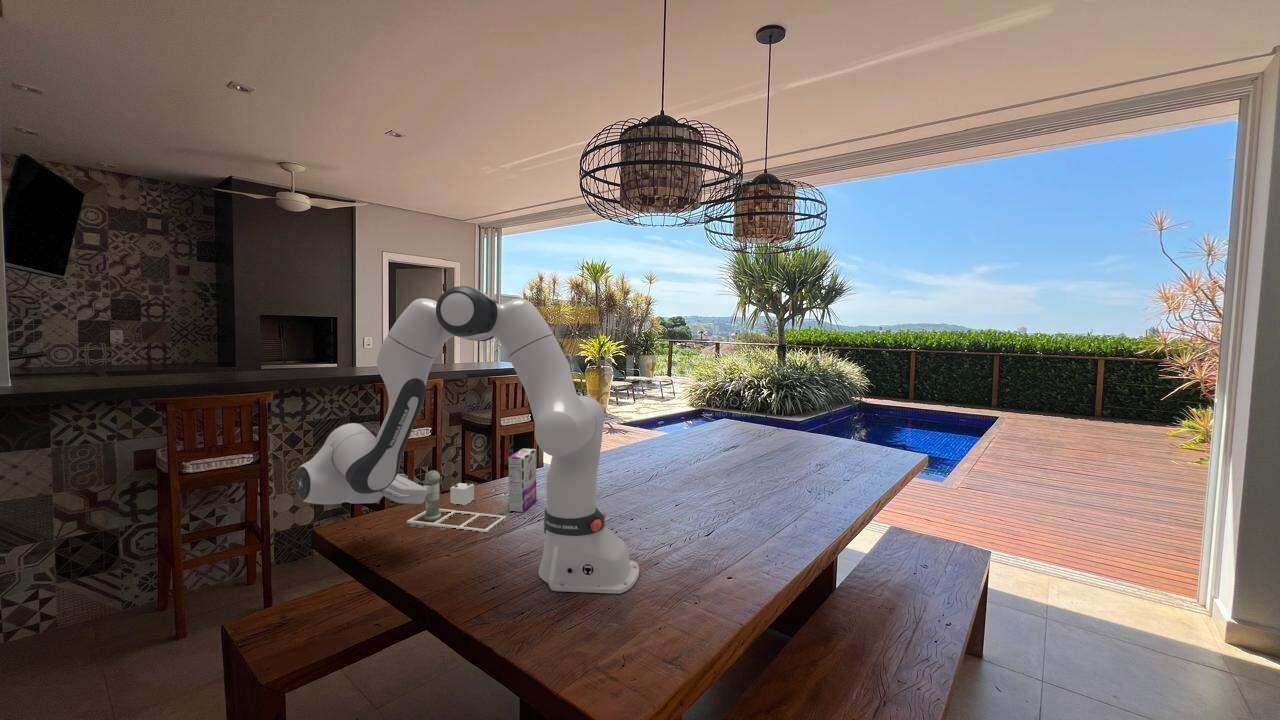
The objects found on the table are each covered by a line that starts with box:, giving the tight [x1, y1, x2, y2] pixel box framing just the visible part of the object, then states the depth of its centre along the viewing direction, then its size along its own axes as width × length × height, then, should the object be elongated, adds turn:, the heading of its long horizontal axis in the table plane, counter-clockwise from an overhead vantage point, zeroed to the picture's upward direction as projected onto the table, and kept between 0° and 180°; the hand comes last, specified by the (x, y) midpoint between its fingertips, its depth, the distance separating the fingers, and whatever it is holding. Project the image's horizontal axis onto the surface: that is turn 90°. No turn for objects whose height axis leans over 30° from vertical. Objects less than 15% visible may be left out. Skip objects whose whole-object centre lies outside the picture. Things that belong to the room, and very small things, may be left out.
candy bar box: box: [507, 447, 537, 513], centre depth 163 cm, size 11×5×16 cm, turn 171°
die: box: [449, 482, 475, 506], centre depth 166 cm, size 5×5×6 cm
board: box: [406, 508, 507, 533], centre depth 149 cm, size 24×13×1 cm, turn 77°
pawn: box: [423, 469, 442, 522], centre depth 152 cm, size 4×4×14 cm
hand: (417, 483), depth 138 cm, fingers open, 8 cm apart
